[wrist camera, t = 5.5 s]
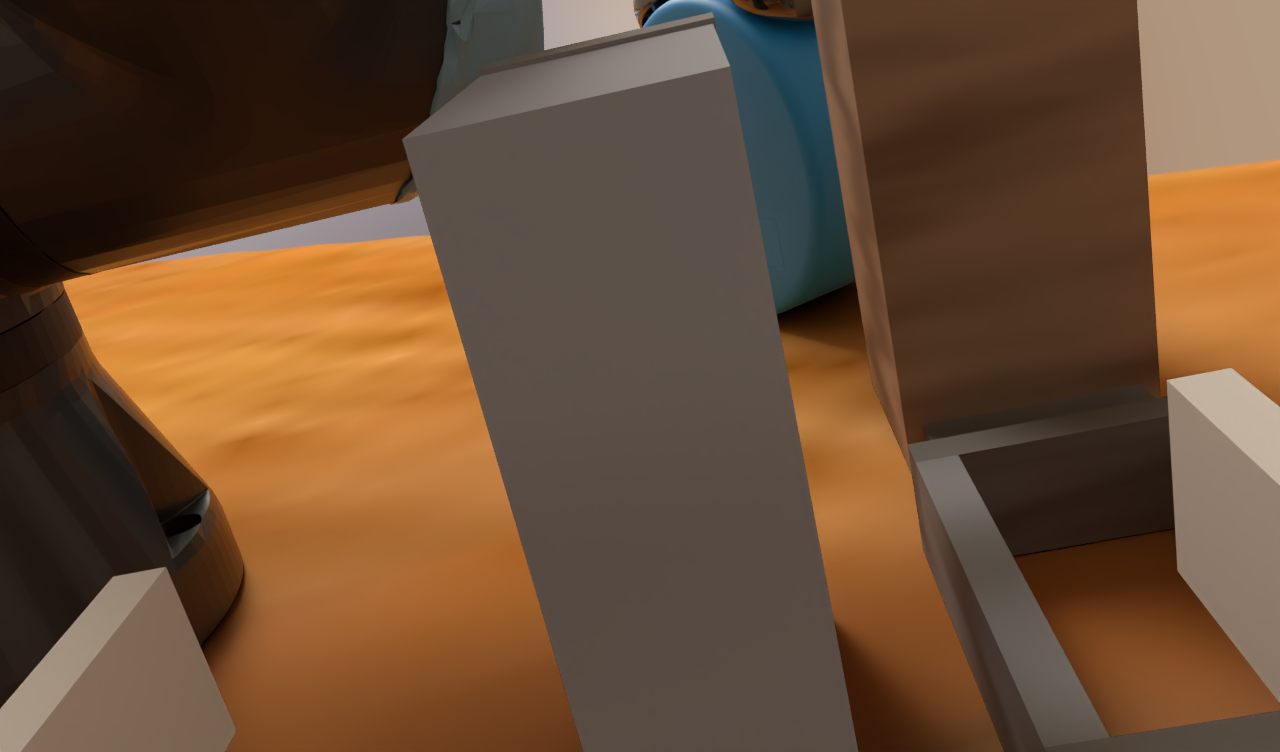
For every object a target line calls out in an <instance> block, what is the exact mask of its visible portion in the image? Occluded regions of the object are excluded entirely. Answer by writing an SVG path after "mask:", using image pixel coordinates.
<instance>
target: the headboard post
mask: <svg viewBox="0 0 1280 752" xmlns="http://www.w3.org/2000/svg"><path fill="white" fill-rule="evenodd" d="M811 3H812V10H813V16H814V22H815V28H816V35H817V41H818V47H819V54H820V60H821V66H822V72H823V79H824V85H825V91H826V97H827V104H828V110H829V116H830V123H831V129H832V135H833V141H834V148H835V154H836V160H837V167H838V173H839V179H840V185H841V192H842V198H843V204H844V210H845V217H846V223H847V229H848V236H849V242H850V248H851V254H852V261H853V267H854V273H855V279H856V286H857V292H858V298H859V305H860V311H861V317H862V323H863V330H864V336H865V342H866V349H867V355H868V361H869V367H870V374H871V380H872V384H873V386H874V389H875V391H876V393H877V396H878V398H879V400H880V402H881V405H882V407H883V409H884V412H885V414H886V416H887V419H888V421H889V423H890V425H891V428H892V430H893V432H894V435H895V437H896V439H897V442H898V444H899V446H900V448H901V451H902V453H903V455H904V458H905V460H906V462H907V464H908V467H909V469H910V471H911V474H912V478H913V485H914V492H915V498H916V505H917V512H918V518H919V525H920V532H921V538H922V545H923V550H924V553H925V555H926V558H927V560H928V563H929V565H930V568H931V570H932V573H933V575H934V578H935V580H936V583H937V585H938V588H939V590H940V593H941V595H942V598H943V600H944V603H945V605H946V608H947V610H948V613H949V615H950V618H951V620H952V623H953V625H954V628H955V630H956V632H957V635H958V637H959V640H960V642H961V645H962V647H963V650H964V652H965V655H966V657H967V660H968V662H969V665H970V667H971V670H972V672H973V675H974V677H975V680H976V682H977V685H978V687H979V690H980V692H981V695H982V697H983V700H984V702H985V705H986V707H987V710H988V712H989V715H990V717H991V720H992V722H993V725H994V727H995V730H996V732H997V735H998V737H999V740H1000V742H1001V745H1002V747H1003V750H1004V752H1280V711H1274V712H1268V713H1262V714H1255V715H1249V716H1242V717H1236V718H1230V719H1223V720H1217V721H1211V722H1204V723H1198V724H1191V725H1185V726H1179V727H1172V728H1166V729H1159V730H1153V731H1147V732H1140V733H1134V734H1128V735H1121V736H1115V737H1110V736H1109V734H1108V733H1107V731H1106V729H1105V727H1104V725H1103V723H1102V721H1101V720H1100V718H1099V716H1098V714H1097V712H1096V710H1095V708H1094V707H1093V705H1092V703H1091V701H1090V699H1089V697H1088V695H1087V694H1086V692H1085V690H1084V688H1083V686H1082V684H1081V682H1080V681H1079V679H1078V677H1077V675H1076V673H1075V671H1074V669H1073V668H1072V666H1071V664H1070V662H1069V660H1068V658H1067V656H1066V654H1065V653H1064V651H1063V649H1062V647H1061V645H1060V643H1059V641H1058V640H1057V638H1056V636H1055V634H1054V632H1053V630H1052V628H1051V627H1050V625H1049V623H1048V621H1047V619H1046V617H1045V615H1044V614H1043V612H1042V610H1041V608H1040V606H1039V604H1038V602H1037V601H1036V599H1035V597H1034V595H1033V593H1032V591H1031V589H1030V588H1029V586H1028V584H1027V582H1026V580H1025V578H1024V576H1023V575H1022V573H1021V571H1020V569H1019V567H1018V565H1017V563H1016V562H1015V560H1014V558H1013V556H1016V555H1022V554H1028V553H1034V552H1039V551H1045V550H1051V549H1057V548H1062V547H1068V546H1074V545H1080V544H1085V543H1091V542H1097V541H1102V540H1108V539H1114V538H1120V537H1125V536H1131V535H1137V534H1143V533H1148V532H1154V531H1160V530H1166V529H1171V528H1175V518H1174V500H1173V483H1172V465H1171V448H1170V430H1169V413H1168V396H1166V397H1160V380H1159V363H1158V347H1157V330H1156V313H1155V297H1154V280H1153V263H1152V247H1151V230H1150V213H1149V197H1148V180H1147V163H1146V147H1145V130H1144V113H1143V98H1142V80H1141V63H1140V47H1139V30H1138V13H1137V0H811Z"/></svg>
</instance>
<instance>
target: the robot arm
mask: <svg viewBox="0 0 1280 752" xmlns="http://www.w3.org/2000/svg"><path fill="white" fill-rule="evenodd" d="M543 28H544V27H543V11H542V0H0V752H225V751H226V749H227V747H228V745H229V743H230V741H231V740H232V738H233V736H234V734H235V732H236V728H235V726H234V724H233V721H232V719H231V717H230V714H229V712H228V710H227V707H226V705H225V703H224V700H223V698H222V696H221V694H220V691H219V689H218V687H217V684H216V682H215V680H214V677H213V675H212V673H211V670H210V668H209V666H208V663H207V661H206V659H205V656H204V654H203V652H202V649H201V647H200V645H201V644H202V643H203V641H204V640H205V639H206V638H207V637H208V636H209V635H210V634H211V632H212V631H213V630H214V629H215V627H216V626H217V625H218V624H219V622H220V621H221V620H222V618H223V617H224V615H225V614H226V612H227V611H228V609H229V608H230V606H231V604H232V603H233V601H234V598H235V596H236V594H237V592H238V590H239V587H240V584H241V580H242V576H243V560H242V556H241V553H240V550H239V548H238V546H237V543H236V541H235V538H234V536H233V533H232V531H231V528H230V526H229V523H228V521H227V518H226V516H225V513H224V511H223V508H222V506H221V504H220V502H219V501H218V499H217V497H216V496H215V494H214V492H213V491H212V489H211V488H210V487H209V486H208V485H207V484H206V483H205V482H204V480H203V479H202V478H201V477H200V476H199V475H198V474H197V473H196V471H195V470H194V469H193V468H192V467H191V466H190V465H189V464H188V462H187V461H186V460H185V459H184V458H183V457H182V456H181V455H180V453H179V452H178V451H177V450H176V449H175V448H174V447H173V446H172V444H171V443H170V442H169V441H168V440H167V439H166V438H165V437H164V435H163V434H162V433H161V432H160V431H159V430H158V429H157V428H156V426H155V425H154V424H153V423H152V422H151V421H150V420H149V419H148V417H147V416H146V415H145V414H144V413H143V412H142V411H141V410H140V408H139V407H138V406H137V405H136V404H135V403H134V402H133V401H132V399H131V398H130V397H129V396H128V395H127V394H126V393H125V392H124V390H123V389H122V388H121V387H120V386H119V385H118V384H117V383H116V381H115V380H114V379H113V378H112V377H111V376H110V375H109V374H108V372H107V371H106V370H105V369H104V368H103V367H102V366H101V365H100V363H99V362H98V360H97V359H96V357H95V355H94V354H93V352H92V351H91V348H90V346H89V344H88V342H87V339H86V337H85V335H84V333H83V330H82V328H81V325H80V323H79V321H78V319H77V316H76V314H75V312H74V309H73V307H72V305H71V303H70V300H69V298H68V296H67V293H66V291H65V289H64V284H63V281H66V280H69V279H73V278H77V277H81V276H85V275H91V274H95V273H98V272H101V271H105V270H110V269H114V268H118V267H122V266H127V265H131V264H135V263H139V262H144V261H147V260H152V259H156V258H160V257H164V256H169V255H173V254H177V253H182V252H186V251H190V250H194V249H199V248H203V247H207V246H211V245H216V244H220V243H224V242H228V241H233V240H237V239H241V238H245V237H250V236H254V235H258V234H262V233H266V232H271V231H275V230H279V229H283V228H288V227H292V226H296V225H300V224H305V223H309V222H313V221H317V220H321V219H326V218H330V217H334V216H338V215H343V214H347V213H351V212H355V211H360V210H364V209H368V208H372V207H376V206H381V205H385V204H391V205H393V204H397V203H403V202H407V201H410V200H412V199H413V198H415V197H417V196H418V191H417V188H416V185H415V181H414V178H413V174H412V171H411V168H410V164H409V161H408V158H407V154H406V151H405V147H404V144H403V141H402V139H403V138H405V137H406V136H407V135H408V134H409V133H411V132H412V131H413V130H414V129H416V128H417V127H418V126H419V125H421V124H422V123H423V122H424V121H426V120H427V119H428V118H429V117H431V116H432V115H433V114H434V113H435V112H437V111H438V110H439V109H440V108H442V107H443V106H444V105H445V104H447V103H448V102H449V101H450V100H452V99H453V98H454V97H455V96H456V95H458V94H459V93H460V92H461V91H463V90H464V89H465V88H466V87H468V86H469V85H470V84H471V83H473V82H474V81H475V80H476V79H477V78H478V77H477V73H476V71H478V70H479V69H480V68H482V67H483V66H484V65H485V64H488V63H492V62H496V61H501V60H505V59H509V58H514V57H518V56H523V55H527V54H531V53H536V52H540V51H544V29H543ZM1167 395H1168V413H1169V430H1170V448H1171V465H1172V483H1173V500H1174V518H1175V535H1176V553H1177V570H1178V572H1179V574H1180V575H1181V576H1182V578H1183V579H1184V580H1185V581H1186V583H1187V584H1188V585H1189V587H1190V588H1191V589H1192V590H1193V592H1194V593H1195V594H1196V596H1197V597H1198V598H1199V600H1200V601H1201V602H1202V603H1203V605H1204V606H1205V607H1206V609H1207V610H1208V611H1209V612H1210V614H1211V615H1212V616H1213V618H1214V619H1215V620H1216V621H1217V623H1218V624H1219V625H1220V627H1221V628H1222V629H1223V630H1224V632H1225V633H1226V634H1227V636H1228V637H1229V638H1230V640H1231V641H1232V642H1233V643H1234V645H1235V646H1236V647H1237V649H1238V650H1239V651H1240V652H1241V654H1242V655H1243V656H1244V658H1245V659H1246V660H1247V661H1248V663H1249V664H1250V665H1251V667H1252V668H1253V669H1254V671H1255V672H1256V673H1257V674H1258V676H1259V677H1260V678H1261V680H1262V681H1263V682H1264V683H1265V685H1266V686H1267V687H1268V689H1269V690H1270V691H1271V692H1272V694H1273V695H1274V696H1275V698H1276V699H1277V700H1278V701H1279V703H1280V407H1279V406H1278V405H1277V404H1275V403H1274V402H1273V401H1272V400H1270V399H1269V398H1268V397H1267V396H1265V395H1264V394H1263V393H1262V392H1260V391H1259V390H1258V389H1257V388H1255V387H1254V386H1253V385H1252V384H1251V383H1249V382H1248V381H1247V380H1246V379H1244V378H1243V377H1242V376H1241V375H1239V374H1238V373H1237V372H1236V371H1234V370H1233V369H1232V368H1229V369H1223V370H1218V371H1212V372H1207V373H1202V374H1196V375H1191V376H1186V377H1180V378H1175V379H1170V380H1167Z"/></svg>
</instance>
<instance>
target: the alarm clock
mask: <svg viewBox="0 0 1280 752" xmlns="http://www.w3.org/2000/svg"><path fill="white" fill-rule="evenodd" d="M634 12H635V16H636V19H637V22H638V24H639V26H640V28H645V27H649V26H654V25H658V24H662V23H667V22H671V21H675V20H680V19H684V18H689V17H693V16H697V15H702V14H706V13H710V12H712V13H713V16H714V18H715V24H716V29H717V34H718V38H719V40H720V43H721V45H722V48H723V50H724V52H725V55H726V57H727V60H728V62H729V65H730V68H731V74H732V79H733V85H734V90H735V95H736V101H737V106H738V111H739V117H740V122H741V127H742V133H743V138H744V143H745V149H746V154H747V159H748V165H749V170H750V175H751V181H752V186H753V191H754V197H755V202H756V207H757V213H758V218H759V223H760V229H761V234H762V239H763V245H764V250H765V256H766V261H767V266H768V272H769V277H770V282H771V288H772V293H773V298H774V304H775V309H776V314H779V313H782V312H785V311H787V310H789V309H792V308H794V307H796V306H799V305H801V304H803V303H806V302H808V301H810V300H813V299H815V298H817V297H820V296H822V295H824V294H827V293H829V292H831V291H834V290H836V289H838V288H841V287H843V286H845V285H848V284H850V283H852V282H855V281H856V279H855V273H854V267H853V261H852V254H851V248H850V242H849V236H848V229H847V223H846V217H845V210H844V204H843V198H842V192H841V185H840V179H839V173H838V167H837V160H836V154H835V148H834V141H833V135H832V129H831V123H830V116H829V110H828V104H827V97H826V91H825V85H824V79H823V72H822V66H821V60H820V54H819V47H818V41H817V35H816V28H815V22H814V16H813V10H812V3H811V0H634Z"/></svg>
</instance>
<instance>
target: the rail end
mask: <svg viewBox="0 0 1280 752" xmlns="http://www.w3.org/2000/svg"><path fill="white" fill-rule="evenodd" d="M476 73H477V77H478V78H477V79H476V80H475V81H474V82H473V83H471V84H470V85H469V86H468V87H466V88H465V89H464V90H463V91H461V92H460V93H459V94H458V95H456V96H455V97H454V98H453V99H452V100H450V101H449V102H448V103H447V104H445V105H444V106H443V107H442V108H440V109H439V110H438V111H437V112H435V113H434V114H433V115H432V116H431V117H429V118H428V119H427V120H426V121H424V122H423V123H422V124H421V125H419V126H418V127H417V128H416V129H414V130H413V131H412V132H411V133H409V134H408V135H407V136H406V137H405V138H403V139H402V141H403V144H404V147H405V151H406V154H407V158H408V161H409V164H410V168H411V171H412V174H413V178H414V181H415V185H416V188H417V191H418V195H419V198H420V202H421V205H422V208H423V212H424V215H425V218H426V222H427V225H428V228H429V232H430V235H431V239H432V242H433V245H434V249H435V252H436V256H437V259H438V262H439V266H440V269H441V272H442V276H443V279H444V283H445V286H446V289H447V293H448V296H449V299H450V303H451V306H452V310H453V313H454V316H455V320H456V323H457V327H458V330H459V333H460V337H461V340H462V343H463V347H464V350H465V354H466V357H467V360H468V364H469V367H470V370H471V374H472V377H473V381H474V384H475V387H476V391H477V394H478V397H479V401H480V404H481V408H482V411H483V414H484V418H485V421H486V424H487V428H488V431H489V435H490V438H491V441H492V445H493V448H494V452H495V455H496V458H497V462H498V465H499V468H500V472H501V475H502V479H503V482H504V485H505V489H506V492H507V495H508V499H509V502H510V506H511V509H512V512H513V516H514V519H515V522H516V526H517V529H518V533H519V536H520V539H521V543H522V546H523V549H524V553H525V556H526V560H527V563H528V566H529V570H530V573H531V577H532V580H533V583H534V587H535V590H536V593H537V597H538V600H539V604H540V607H541V610H542V614H543V617H544V620H545V624H546V627H547V631H548V634H549V637H550V641H551V644H552V647H553V651H554V654H555V658H556V661H557V664H558V668H559V671H560V674H561V678H562V681H563V685H564V688H565V691H566V695H567V698H568V701H569V705H570V708H571V712H572V715H573V718H574V722H575V725H576V729H577V732H578V735H579V739H580V742H581V745H582V749H583V752H858V747H857V742H856V736H855V731H854V726H853V720H852V715H851V710H850V704H849V699H848V694H847V688H846V683H845V678H844V672H843V667H842V662H841V656H840V651H839V646H838V640H837V635H836V630H835V624H834V619H833V613H832V608H831V603H830V597H829V592H828V587H827V581H826V576H825V571H824V565H823V560H822V555H821V549H820V544H819V539H818V533H817V528H816V523H815V517H814V512H813V507H812V501H811V496H810V491H809V485H808V480H807V475H806V469H805V464H804V459H803V453H802V448H801V443H800V437H799V432H798V426H797V421H796V416H795V410H794V405H793V400H792V394H791V389H790V384H789V378H788V373H787V368H786V362H785V357H784V352H783V346H782V341H781V336H780V330H779V325H778V320H777V314H776V309H775V304H774V298H773V293H772V288H771V282H770V277H769V272H768V266H767V261H766V256H765V250H764V245H763V239H762V234H761V229H760V223H759V218H758V213H757V207H756V202H755V197H754V191H753V186H752V181H751V175H750V170H749V165H748V159H747V154H746V149H745V143H744V138H743V133H742V127H741V122H740V117H739V111H738V106H737V101H736V95H735V90H734V85H733V79H732V74H731V68H730V65H729V62H728V60H727V57H726V55H725V52H724V50H723V48H722V45H721V43H720V40H719V38H718V34H717V29H716V24H715V18H714V16H713V13H712V12H710V13H706V14H702V15H697V16H693V17H689V18H684V19H680V20H675V21H671V22H667V23H662V24H658V25H654V26H649V27H645V28H640V29H636V30H632V31H627V32H623V33H619V34H614V35H610V36H606V37H601V38H597V39H593V40H588V41H584V42H580V43H575V44H571V45H566V46H562V47H557V48H553V49H549V50H544V51H540V52H536V53H531V54H527V55H523V56H518V57H514V58H509V59H505V60H501V61H496V62H492V63H488V64H485V65H484V66H483V67H482V68H480V69H479V70H478V71H476Z"/></svg>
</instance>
